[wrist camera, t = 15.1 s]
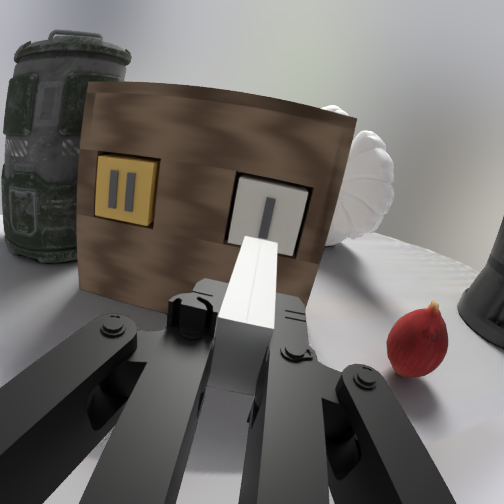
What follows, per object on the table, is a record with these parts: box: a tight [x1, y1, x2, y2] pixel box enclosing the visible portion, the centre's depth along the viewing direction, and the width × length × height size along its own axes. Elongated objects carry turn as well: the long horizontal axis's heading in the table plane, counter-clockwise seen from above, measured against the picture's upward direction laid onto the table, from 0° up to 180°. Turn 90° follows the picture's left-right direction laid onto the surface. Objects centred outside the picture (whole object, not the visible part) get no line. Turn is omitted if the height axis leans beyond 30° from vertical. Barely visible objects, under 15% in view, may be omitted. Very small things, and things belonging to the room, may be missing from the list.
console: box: [77, 81, 357, 314], centre depth 28 cm, size 22×8×20 cm, turn 86°
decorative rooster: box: [321, 105, 394, 246], centre depth 50 cm, size 25×16×25 cm, turn 10°
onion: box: [386, 300, 448, 378], centre depth 24 cm, size 6×6×8 cm
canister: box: [1, 30, 132, 263], centre depth 31 cm, size 16×16×28 cm
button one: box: [228, 173, 308, 256], centre depth 26 cm, size 5×5×5 cm
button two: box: [95, 153, 161, 226], centre depth 26 cm, size 5×5×5 cm
